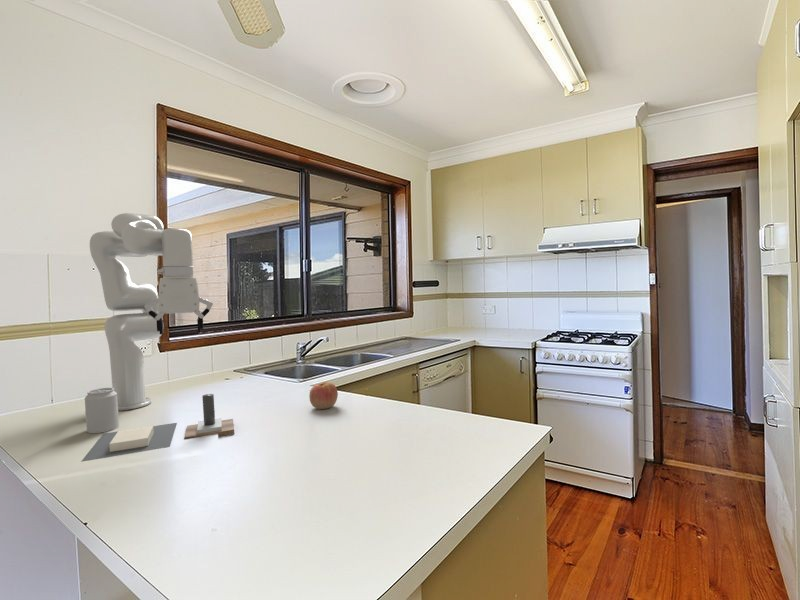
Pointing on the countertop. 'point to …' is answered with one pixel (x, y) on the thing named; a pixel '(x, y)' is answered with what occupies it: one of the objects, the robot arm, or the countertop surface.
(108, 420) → the can
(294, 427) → the countertop surface
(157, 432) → the mat
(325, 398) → the apple
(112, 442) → the tile
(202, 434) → the plate
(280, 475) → the countertop surface
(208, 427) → the grey post stand
